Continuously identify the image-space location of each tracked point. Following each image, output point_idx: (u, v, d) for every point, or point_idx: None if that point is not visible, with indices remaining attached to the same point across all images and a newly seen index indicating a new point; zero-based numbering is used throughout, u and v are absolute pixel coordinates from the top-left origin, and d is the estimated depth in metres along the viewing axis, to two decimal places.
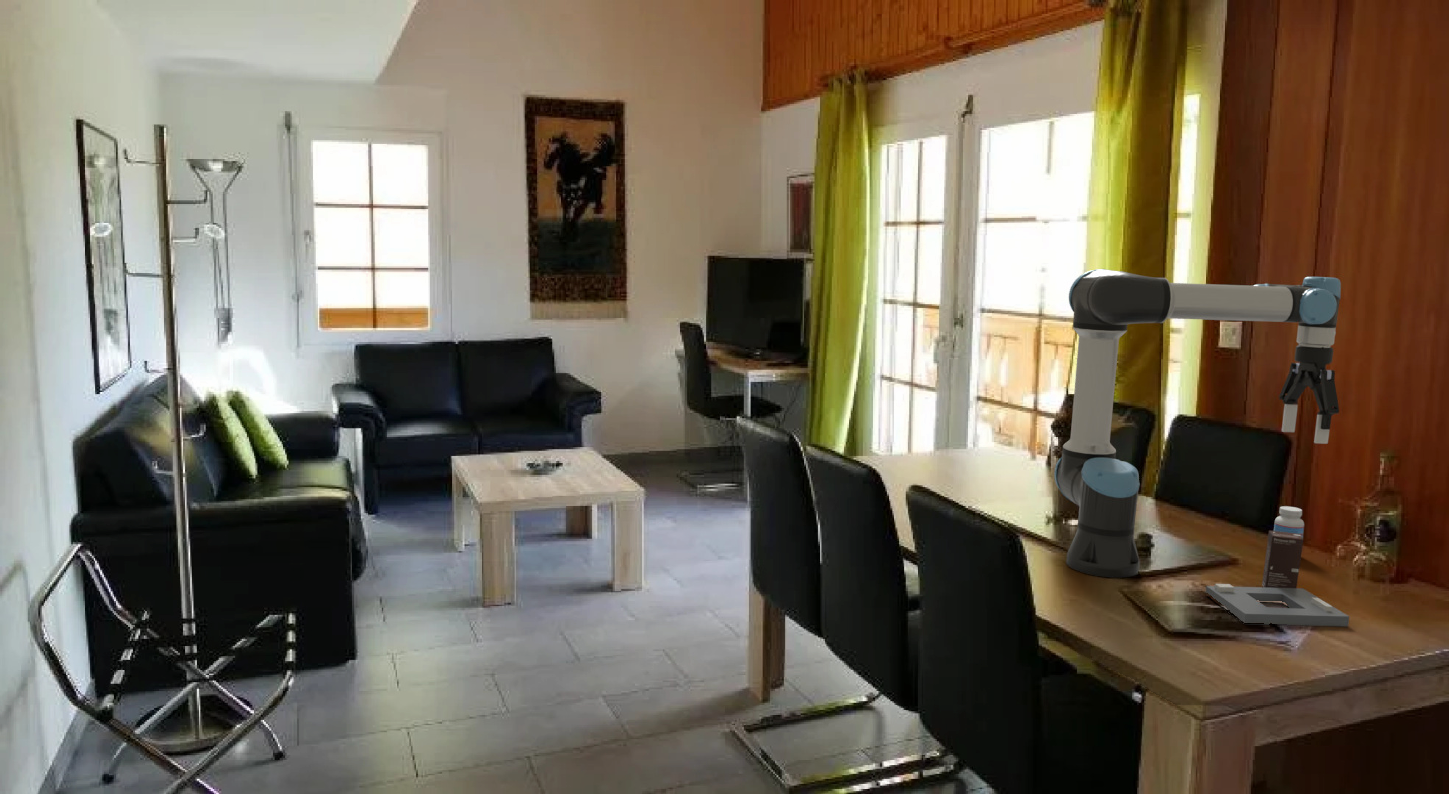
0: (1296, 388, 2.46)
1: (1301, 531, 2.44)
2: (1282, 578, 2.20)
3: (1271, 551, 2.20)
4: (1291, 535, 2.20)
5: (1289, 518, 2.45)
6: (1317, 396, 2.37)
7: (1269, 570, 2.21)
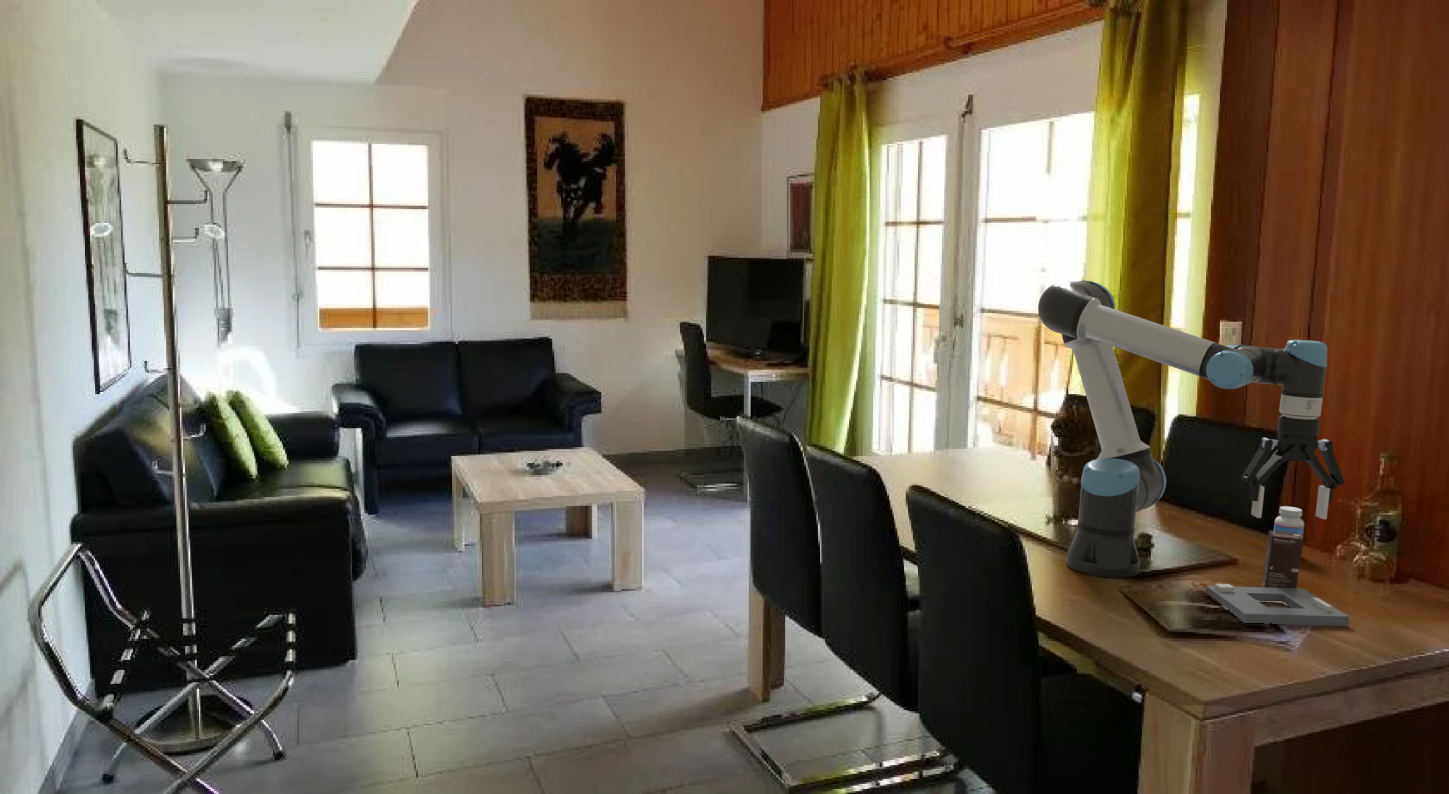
0: (1310, 465, 2.20)
1: (1301, 531, 2.44)
2: (1282, 578, 2.20)
3: (1271, 551, 2.20)
4: (1291, 535, 2.20)
5: (1289, 518, 2.45)
6: None
7: (1269, 570, 2.21)
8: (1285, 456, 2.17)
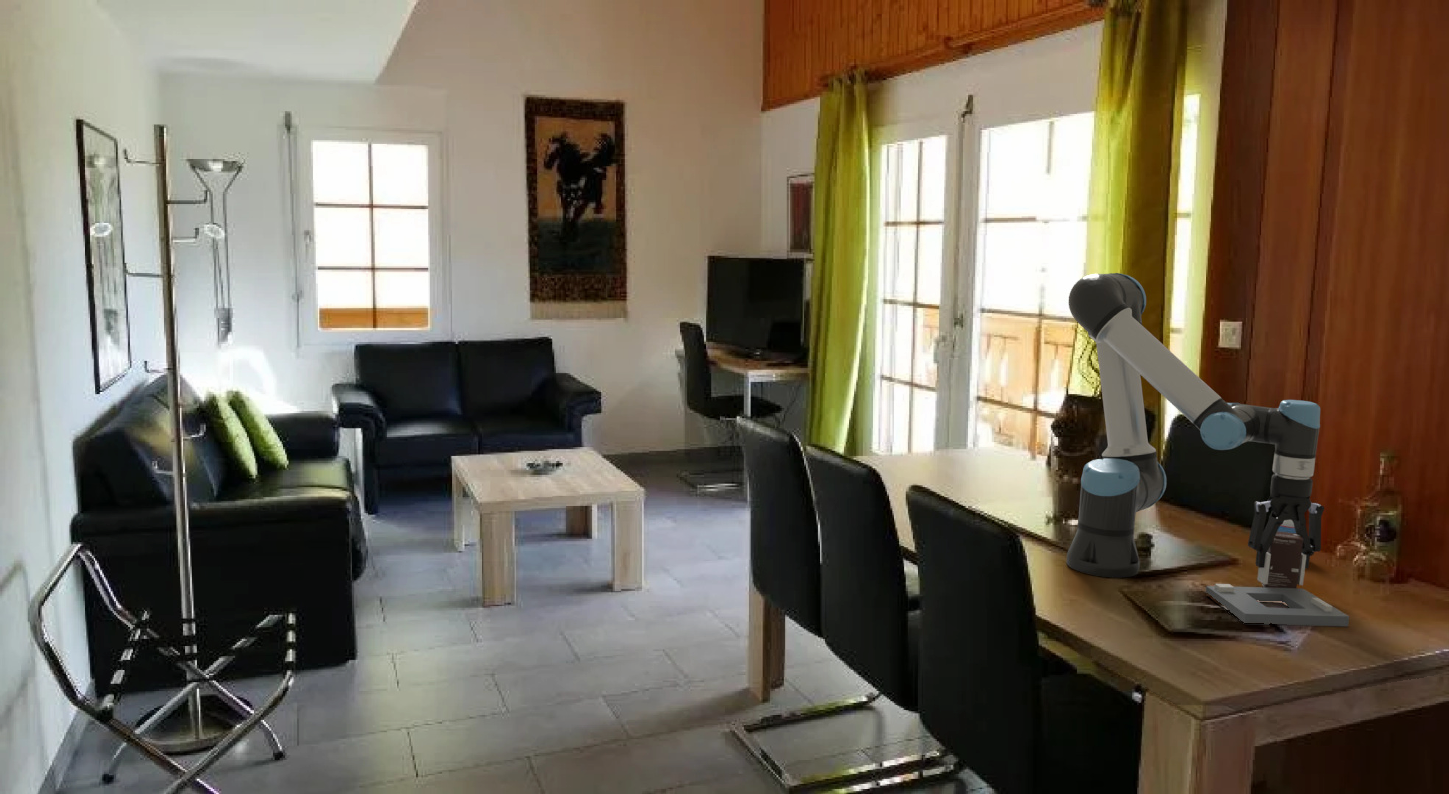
0: (1295, 527, 2.22)
1: None
2: (1282, 578, 2.20)
3: (1271, 551, 2.20)
4: (1291, 535, 2.20)
5: None
6: None
7: (1269, 570, 2.21)
8: (1281, 518, 2.19)
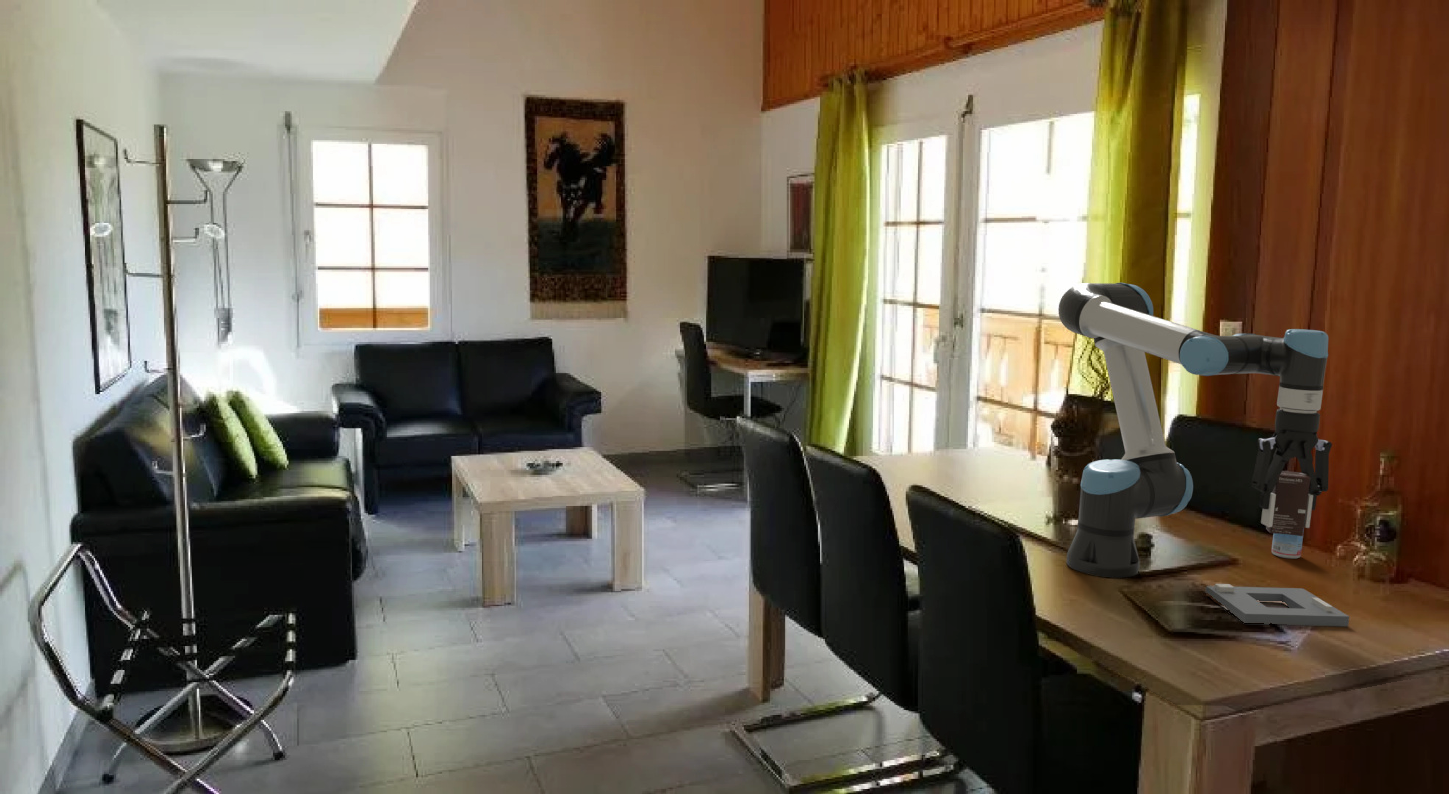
0: (1301, 465, 2.07)
1: None
2: (1287, 520, 2.06)
3: (1276, 491, 2.06)
4: (1297, 474, 2.06)
5: None
6: None
7: (1274, 512, 2.07)
8: (1287, 455, 2.04)
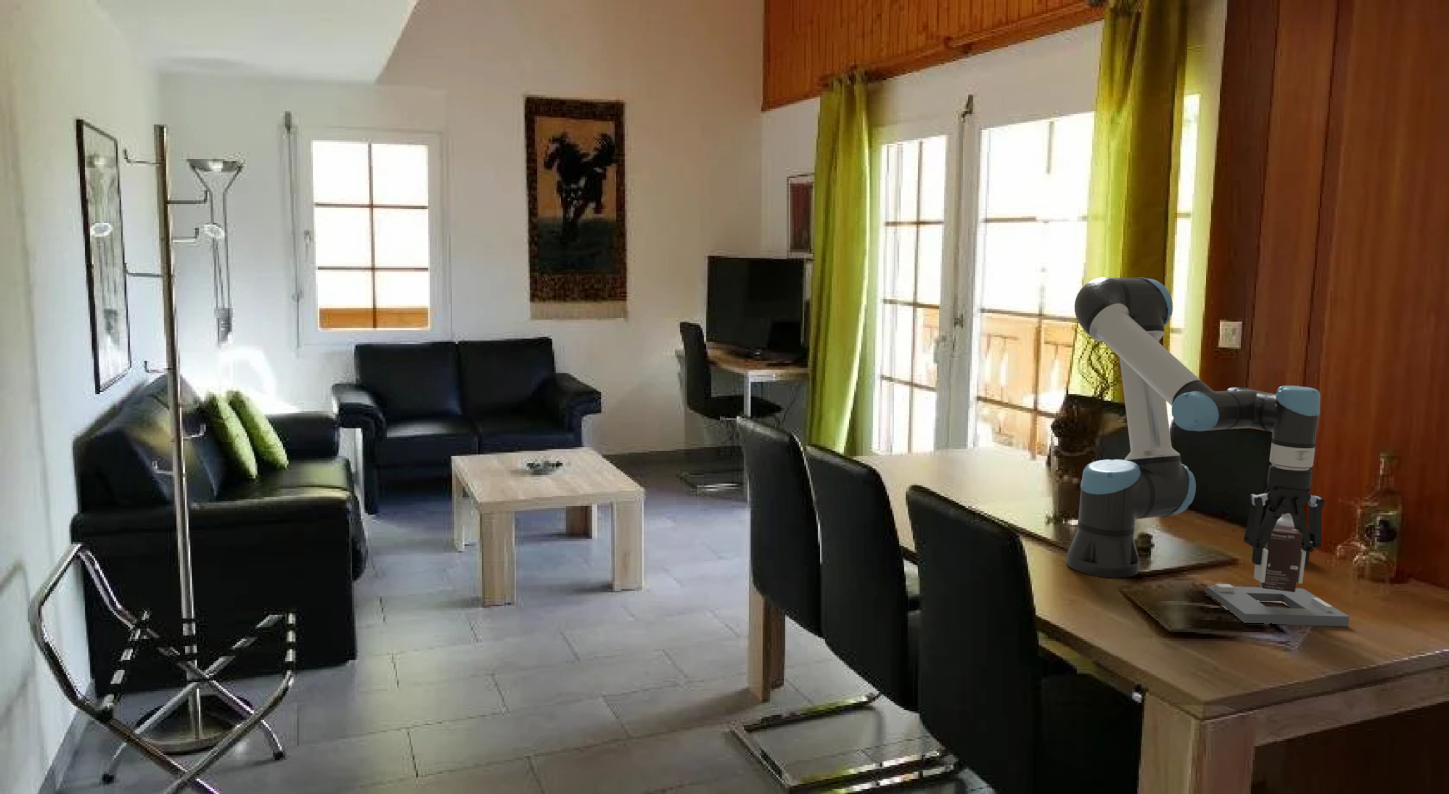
0: (1294, 521, 2.08)
1: None
2: (1280, 576, 2.07)
3: (1268, 547, 2.06)
4: (1290, 530, 2.06)
5: (1289, 518, 2.45)
6: None
7: (1266, 567, 2.07)
8: (1279, 511, 2.05)
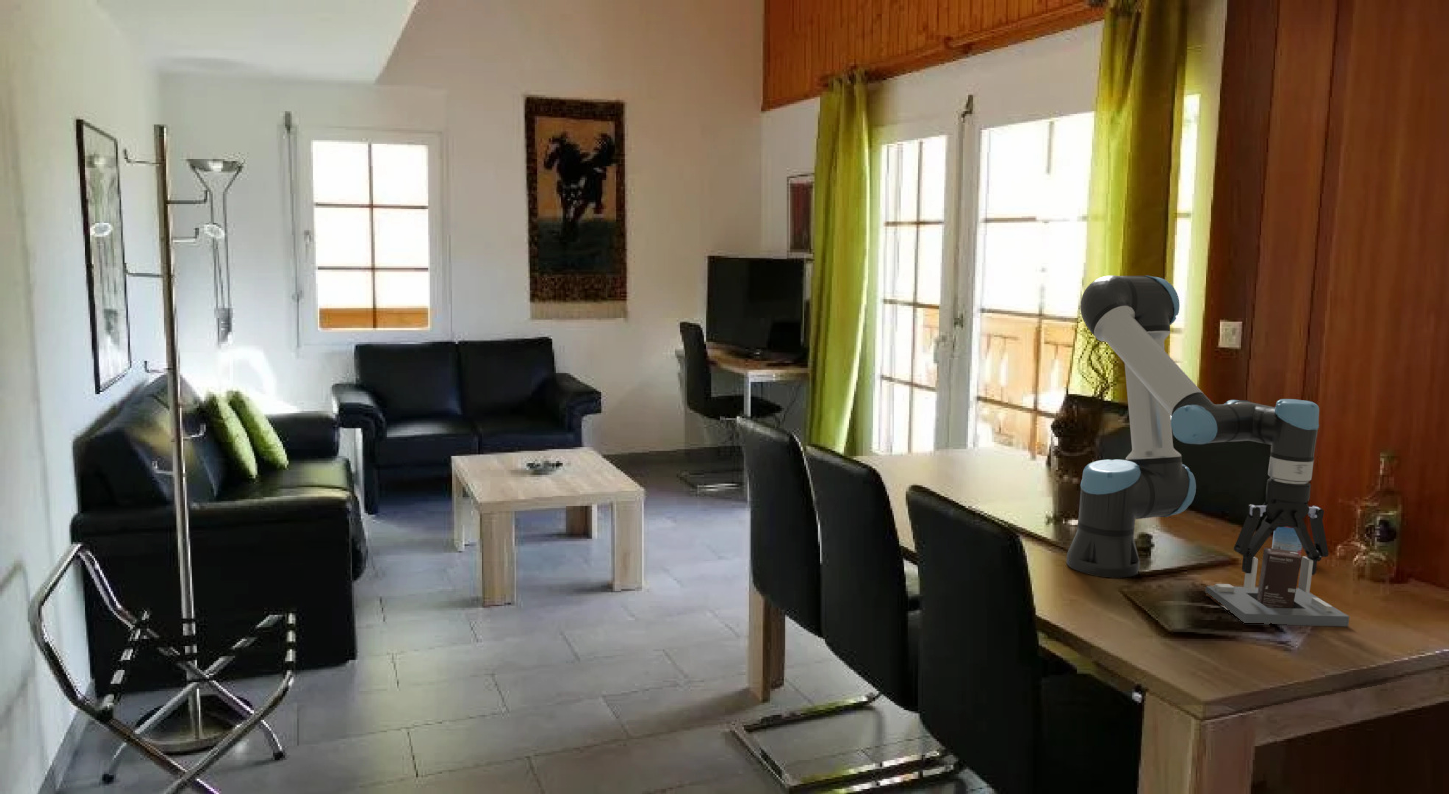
0: (1296, 533, 2.08)
1: None
2: (1277, 598, 2.07)
3: (1266, 570, 2.07)
4: (1288, 553, 2.07)
5: None
6: None
7: (1264, 590, 2.08)
8: (1275, 523, 2.05)
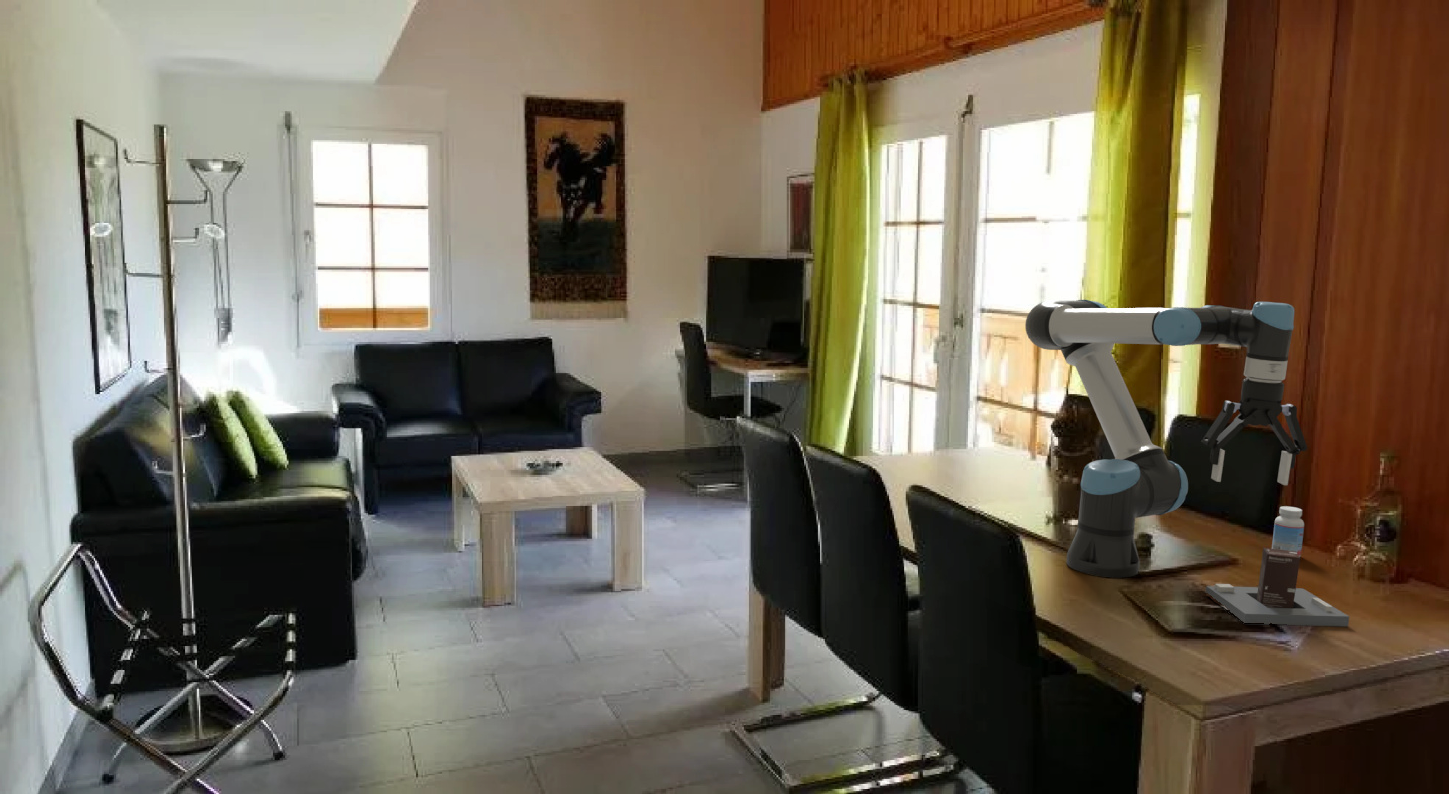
0: (1273, 430, 2.16)
1: (1301, 531, 2.44)
2: (1277, 598, 2.07)
3: (1266, 570, 2.07)
4: (1287, 553, 2.07)
5: (1289, 518, 2.45)
6: None
7: (1264, 590, 2.08)
8: (1247, 420, 2.13)
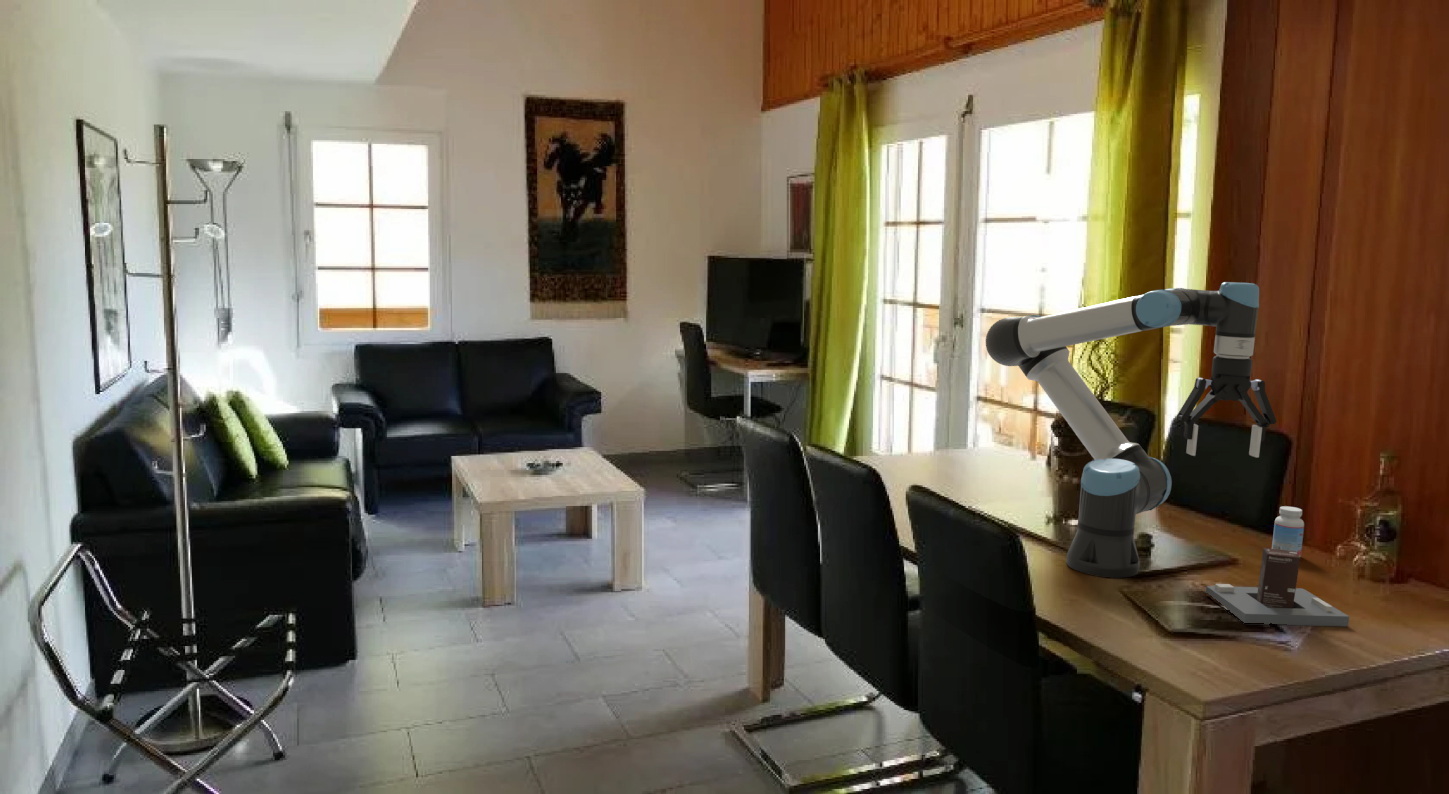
0: (1244, 405, 2.26)
1: (1301, 531, 2.44)
2: (1277, 598, 2.07)
3: (1266, 570, 2.07)
4: (1287, 553, 2.07)
5: (1289, 518, 2.45)
6: None
7: (1264, 590, 2.08)
8: (1218, 395, 2.23)
